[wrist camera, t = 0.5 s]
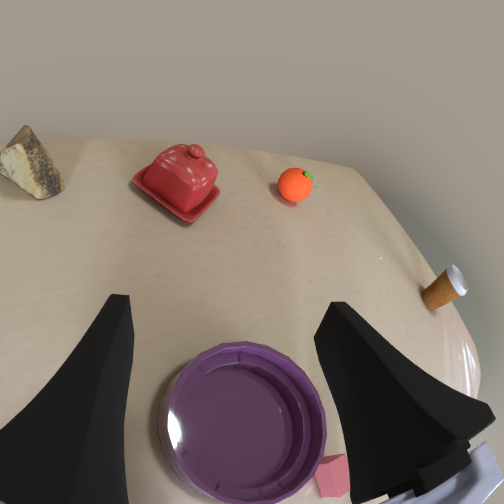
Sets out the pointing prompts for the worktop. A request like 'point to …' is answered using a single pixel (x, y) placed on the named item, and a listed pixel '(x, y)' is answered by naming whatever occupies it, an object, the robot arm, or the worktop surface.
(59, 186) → the rock
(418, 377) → the robot arm
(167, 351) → the worktop surface
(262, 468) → the bowl
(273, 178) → the worktop surface
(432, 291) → the disposable coffee cup
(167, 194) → the butter dish
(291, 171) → the clementine
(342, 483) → the eraser
